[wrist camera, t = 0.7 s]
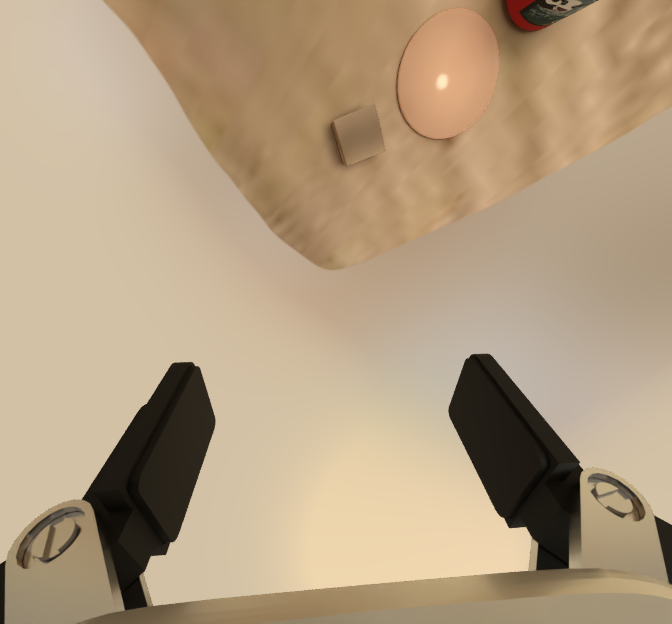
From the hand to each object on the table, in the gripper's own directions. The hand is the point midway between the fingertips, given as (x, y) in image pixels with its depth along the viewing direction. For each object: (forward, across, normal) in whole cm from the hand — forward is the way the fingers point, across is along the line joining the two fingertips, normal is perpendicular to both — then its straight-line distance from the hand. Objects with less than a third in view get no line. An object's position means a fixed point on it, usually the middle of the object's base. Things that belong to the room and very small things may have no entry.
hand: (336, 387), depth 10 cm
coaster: (+28, -13, -13) cm, 34 cm away
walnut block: (+28, -4, -8) cm, 30 cm away
